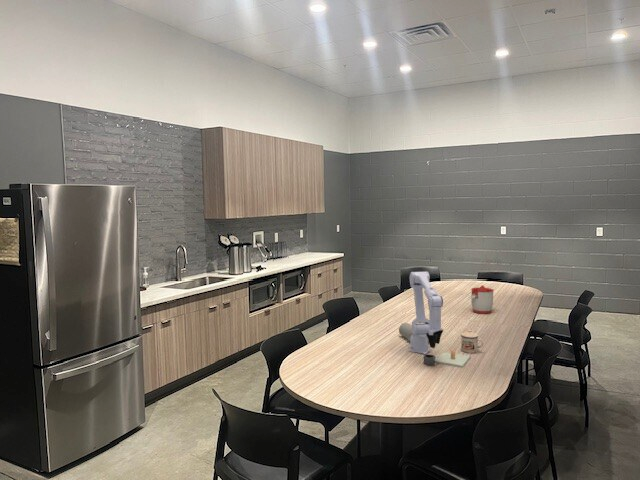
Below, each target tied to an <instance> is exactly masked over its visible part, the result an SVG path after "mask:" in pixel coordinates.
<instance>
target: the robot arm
mask: <svg viewBox="0 0 640 480" xmlns="http://www.w3.org/2000/svg"><path fill="white" fill-rule="evenodd" d="M430 278H431V277H430V273H429V271H411V272H410V273H409V284H410V288H412V289H413V296H414V306H415V318H414V319H413V320H412V322H411V325H412V333H413V334H412V335H411V338H410V342H409V344H410V345H409V352H412V353H417V354H424V355H426V354H428V353H429V352H430V351H431V349H430V348H433V349H435V347H436V344H440V341H441V337H442V334H443V332H444V328H443V327H442V307H443V306H444V299H443V296H442V295H441V294H438V292H437V290H436V289H435V287H434V286H432V284H431V283H430ZM423 290H424V291H423ZM424 295H425V297H426V299H427V305H428V310H429V313H428V314H429V316H428V317H429V319H428V318H427V317H426V311H425V303H424V302H425V301H424ZM428 340H429V343H428ZM429 347H430V348H429Z"/></svg>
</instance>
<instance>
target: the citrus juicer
mask: <svg viewBox="0 0 640 480" xmlns="http://www.w3.org/2000/svg"><path fill="white" fill-rule="evenodd" d="M470 290H471V295H470V298H471V299H470V300H471V301H470V302H471V308H472V311H473V312H474V313H476V314H481V315H483V314H484V315H487V314H490V313H491V312H492V309H493V306H494V289H493V288H490V287H489V288H488V287H485V286H484V285H481V286H480V287H472V288H470Z"/></svg>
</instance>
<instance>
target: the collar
mask: <svg viewBox="0 0 640 480" xmlns="http://www.w3.org/2000/svg"><path fill="white" fill-rule="evenodd" d="M435 360H436V356H435V355H434V354H431V353H430V354H428V353H427V354H424V355H423V365H424V366H428V367H429V366H430V367H434V366H435V365H436V363H435Z"/></svg>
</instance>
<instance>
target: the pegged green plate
mask: <svg viewBox="0 0 640 480" xmlns="http://www.w3.org/2000/svg"><path fill="white" fill-rule="evenodd" d="M470 359H471V355H465V354H459V353H456V350H455V349H453V348H452V349H450V352H446V351H443V353H441V354H440V355H439V356H438V357H437V358H435V364H440V365H446V366H452V367H457V368H464V366H465V365H466V364H467V363H468V361H470Z"/></svg>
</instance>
